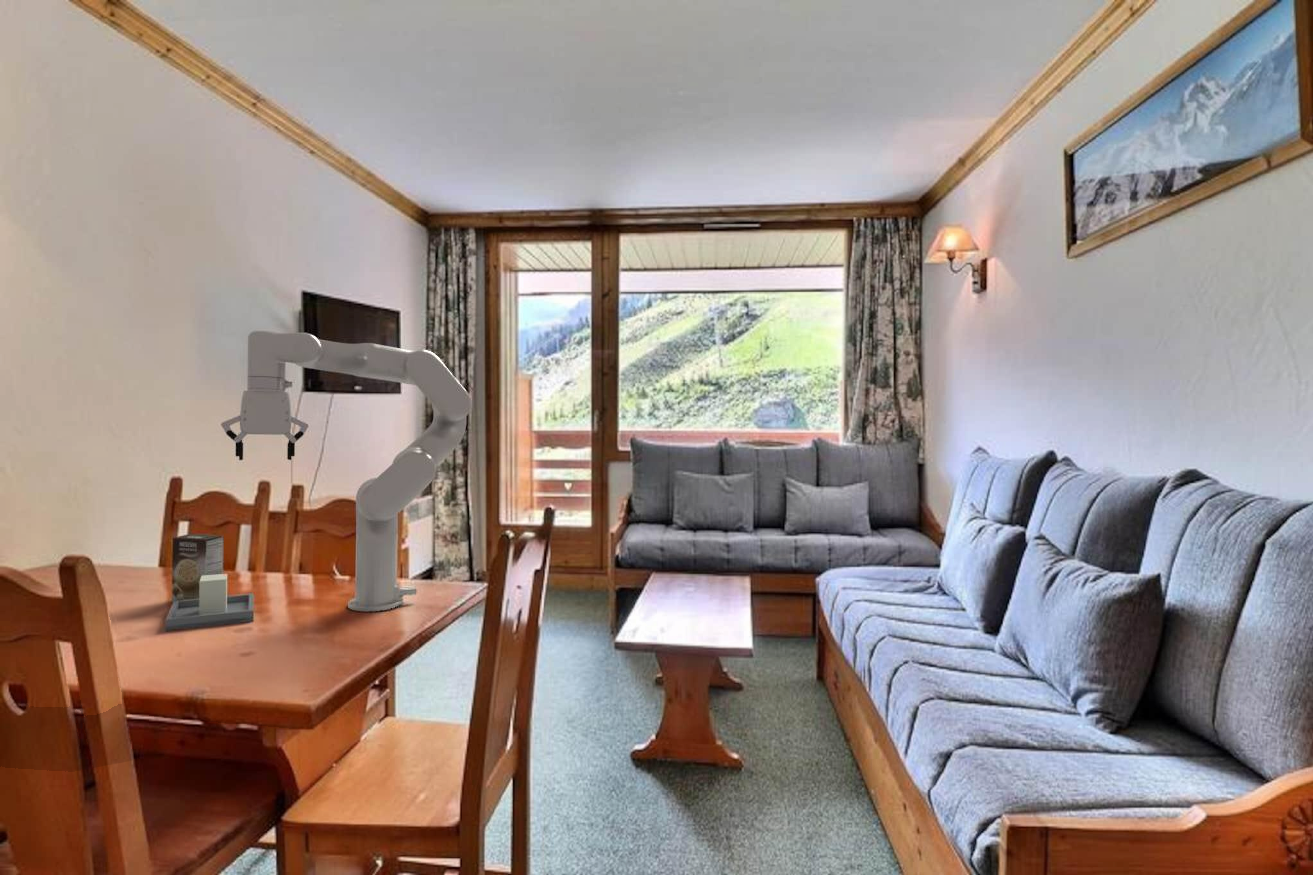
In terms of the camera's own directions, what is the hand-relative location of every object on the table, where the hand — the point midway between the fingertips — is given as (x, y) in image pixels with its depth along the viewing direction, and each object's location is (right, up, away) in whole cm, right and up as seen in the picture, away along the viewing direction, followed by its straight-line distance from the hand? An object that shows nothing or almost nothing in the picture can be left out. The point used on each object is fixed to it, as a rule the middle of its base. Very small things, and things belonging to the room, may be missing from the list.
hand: (265, 459), depth 153 cm
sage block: (-12, -35, -1) cm, 37 cm away
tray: (-12, -36, -1) cm, 38 cm away
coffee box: (-24, -36, +12) cm, 44 cm away
